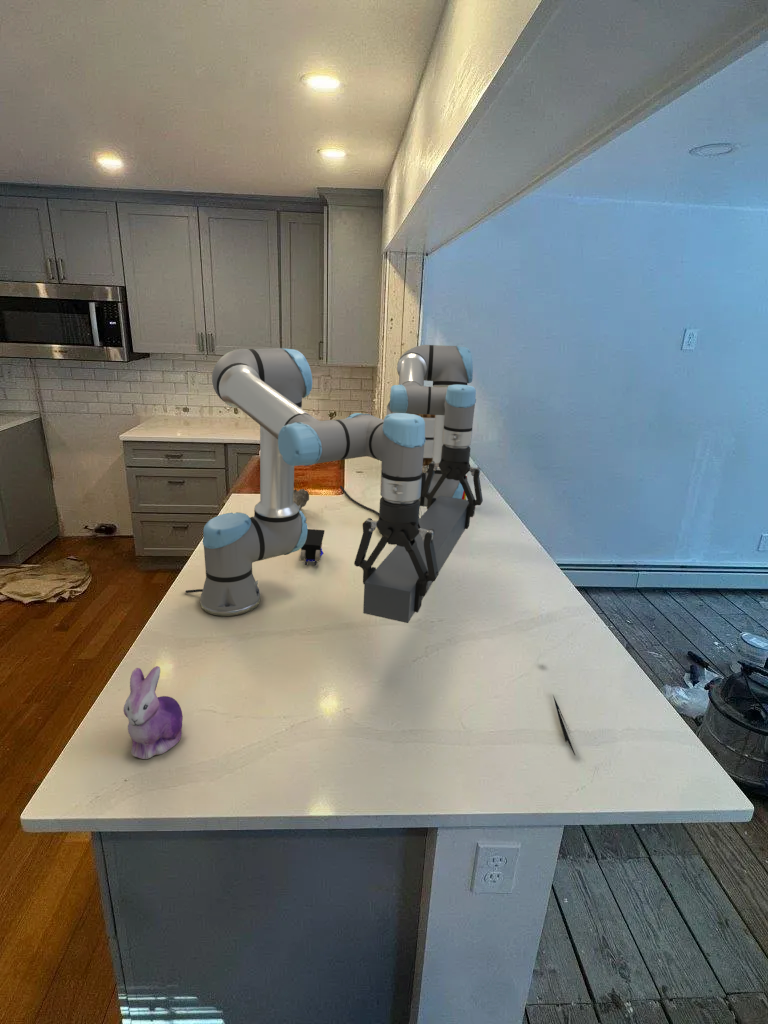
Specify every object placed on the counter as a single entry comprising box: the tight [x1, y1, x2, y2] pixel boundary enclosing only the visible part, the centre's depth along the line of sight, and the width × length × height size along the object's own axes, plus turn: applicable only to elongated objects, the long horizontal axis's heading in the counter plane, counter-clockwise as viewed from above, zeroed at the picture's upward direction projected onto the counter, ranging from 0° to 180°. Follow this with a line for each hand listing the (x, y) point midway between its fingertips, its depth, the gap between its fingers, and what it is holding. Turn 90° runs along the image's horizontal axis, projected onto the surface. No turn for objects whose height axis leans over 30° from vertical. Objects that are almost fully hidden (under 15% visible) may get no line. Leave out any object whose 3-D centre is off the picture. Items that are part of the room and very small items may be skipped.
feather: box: [552, 695, 579, 756], centre depth 115 cm, size 2×28×2 cm
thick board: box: [362, 496, 469, 624], centre depth 134 cm, size 59×9×7 cm, turn 161°
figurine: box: [122, 665, 183, 760], centre depth 99 cm, size 9×10×15 cm
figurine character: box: [299, 528, 326, 567], centre depth 176 cm, size 7×8×15 cm
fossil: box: [294, 488, 310, 511], centre depth 210 cm, size 22×10×15 cm
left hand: (393, 603), depth 114 cm, fingers closed on thick board, 9 cm apart
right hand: (449, 524), depth 157 cm, fingers closed on thick board, 9 cm apart
